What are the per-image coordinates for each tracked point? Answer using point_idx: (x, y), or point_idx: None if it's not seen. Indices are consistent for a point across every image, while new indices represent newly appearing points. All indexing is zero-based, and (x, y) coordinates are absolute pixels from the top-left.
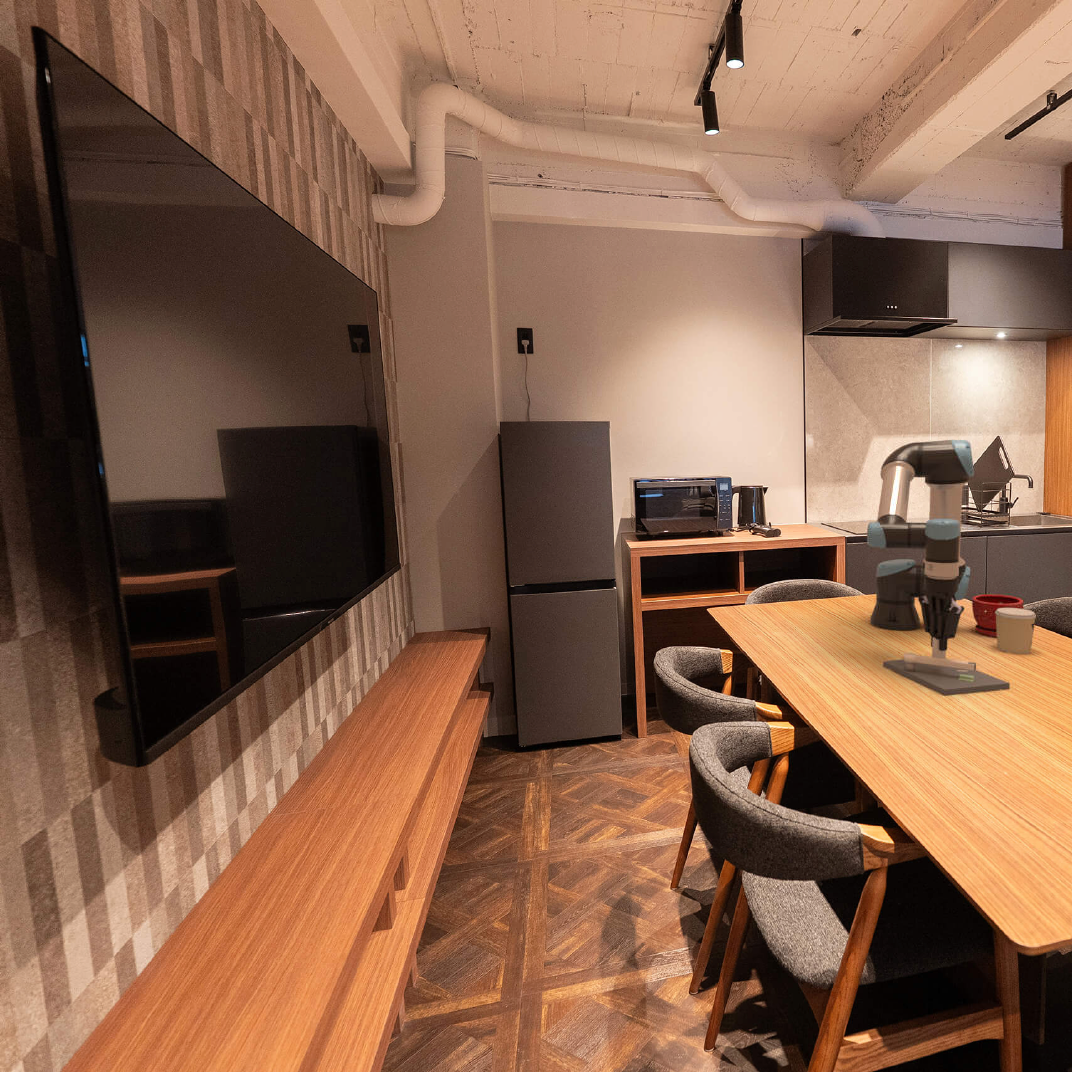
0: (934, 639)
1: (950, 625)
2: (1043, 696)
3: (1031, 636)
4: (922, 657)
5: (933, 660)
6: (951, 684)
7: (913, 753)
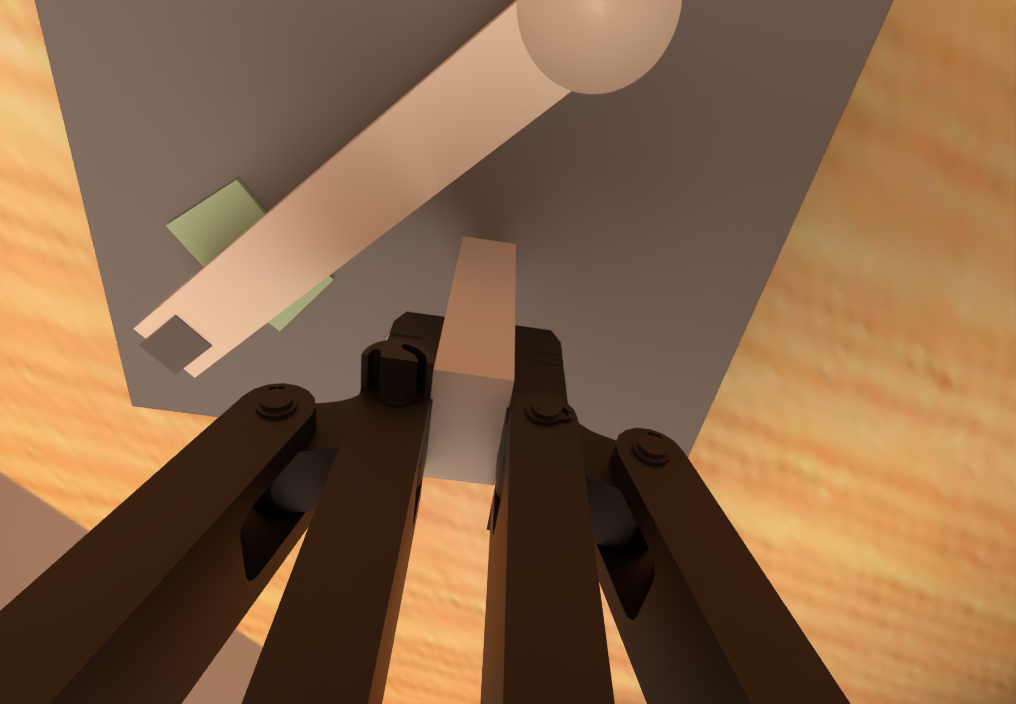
0: (482, 365)
1: (34, 597)
2: (28, 425)
3: None
4: (466, 66)
5: (373, 126)
6: (136, 10)
7: None
